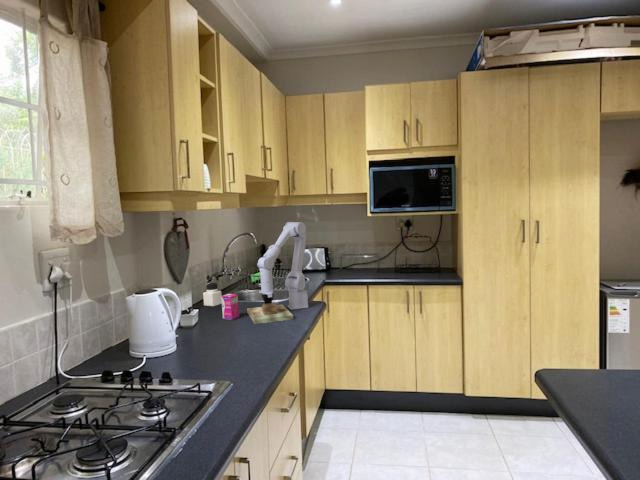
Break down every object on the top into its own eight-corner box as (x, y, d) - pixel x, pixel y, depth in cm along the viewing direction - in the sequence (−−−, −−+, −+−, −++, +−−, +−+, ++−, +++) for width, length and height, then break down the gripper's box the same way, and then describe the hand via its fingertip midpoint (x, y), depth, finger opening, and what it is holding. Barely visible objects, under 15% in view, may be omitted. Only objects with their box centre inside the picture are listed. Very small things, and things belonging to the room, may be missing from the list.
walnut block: (274, 310, 224) (274, 302, 224) (277, 313, 218) (276, 305, 218) (262, 312, 223) (262, 304, 222) (264, 315, 217) (264, 306, 216)
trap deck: (282, 308, 237) (282, 304, 237) (293, 319, 214) (293, 315, 214) (247, 312, 232) (247, 308, 232) (254, 324, 209) (254, 319, 209)
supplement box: (222, 319, 221) (220, 296, 220) (230, 316, 226) (228, 293, 225) (232, 320, 218) (230, 296, 217) (239, 317, 223) (238, 294, 222)
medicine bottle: (222, 303, 256) (220, 282, 255) (213, 306, 250) (211, 284, 249) (213, 302, 260) (211, 281, 258) (203, 305, 254) (202, 283, 252)
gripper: (256, 280, 229) (257, 307, 231) (261, 285, 215) (262, 313, 217) (270, 278, 231) (271, 305, 233) (275, 283, 217) (277, 311, 219)
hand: (268, 309), depth 225 cm, fingers closed
